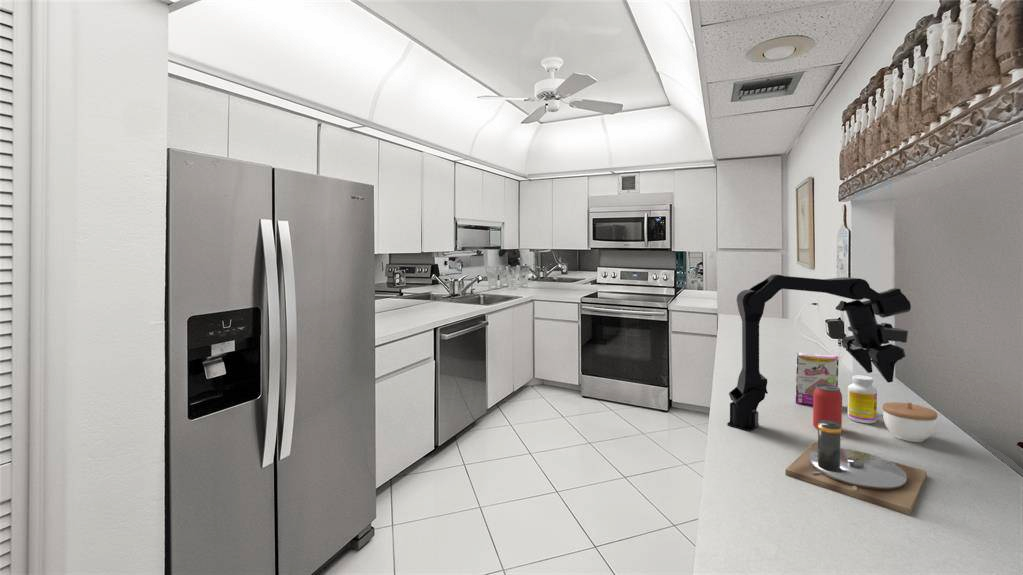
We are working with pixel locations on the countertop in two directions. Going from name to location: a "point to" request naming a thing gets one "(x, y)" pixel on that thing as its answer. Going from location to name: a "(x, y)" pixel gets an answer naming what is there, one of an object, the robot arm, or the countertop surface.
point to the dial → (853, 462)
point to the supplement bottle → (862, 400)
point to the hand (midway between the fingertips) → (879, 377)
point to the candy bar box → (814, 374)
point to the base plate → (890, 499)
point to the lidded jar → (909, 421)
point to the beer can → (827, 404)
